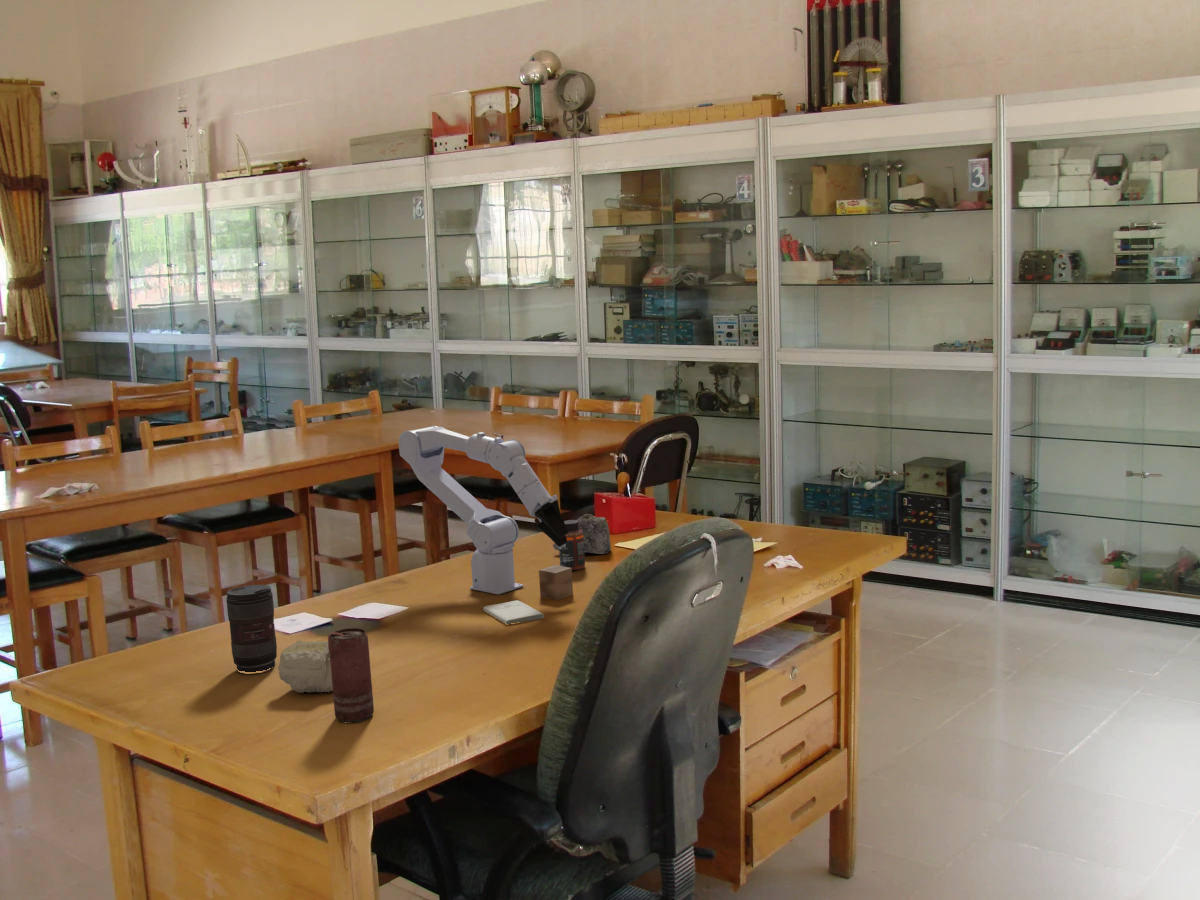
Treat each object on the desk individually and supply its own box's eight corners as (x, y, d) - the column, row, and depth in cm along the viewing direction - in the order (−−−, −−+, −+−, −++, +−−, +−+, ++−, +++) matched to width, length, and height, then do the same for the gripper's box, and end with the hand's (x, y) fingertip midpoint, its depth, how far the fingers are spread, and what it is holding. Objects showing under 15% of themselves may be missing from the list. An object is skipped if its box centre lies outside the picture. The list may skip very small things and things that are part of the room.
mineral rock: (551, 555, 286) (549, 515, 285) (576, 545, 295) (574, 507, 294) (593, 560, 279) (591, 519, 278) (618, 550, 288) (616, 511, 286)
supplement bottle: (586, 564, 275) (584, 518, 273) (583, 571, 269) (581, 524, 267) (561, 565, 275) (559, 519, 274) (558, 571, 270) (555, 524, 268)
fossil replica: (355, 695, 196) (347, 681, 205) (354, 646, 195) (346, 635, 205) (281, 701, 192) (277, 687, 201) (281, 651, 191) (276, 640, 201)
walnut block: (540, 596, 249) (538, 570, 249) (556, 591, 253) (554, 564, 252) (557, 600, 246) (555, 573, 245) (573, 594, 250) (571, 567, 249)
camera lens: (288, 662, 214) (280, 584, 211) (262, 677, 206) (254, 596, 204) (251, 659, 216) (243, 582, 214) (224, 674, 209) (216, 594, 207)
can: (336, 711, 188) (329, 628, 186) (375, 708, 188) (369, 625, 186) (331, 725, 182) (323, 640, 180) (371, 722, 182) (364, 637, 180)
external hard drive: (506, 628, 230) (483, 613, 241) (544, 620, 234) (519, 606, 245) (506, 620, 230) (483, 606, 241) (543, 613, 233) (519, 599, 244)
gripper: (545, 468, 242) (580, 520, 239) (544, 488, 256) (578, 538, 252) (516, 485, 240) (552, 538, 237) (517, 505, 254) (551, 555, 251)
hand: (563, 539), depth 245 cm, fingers open, 7 cm apart
